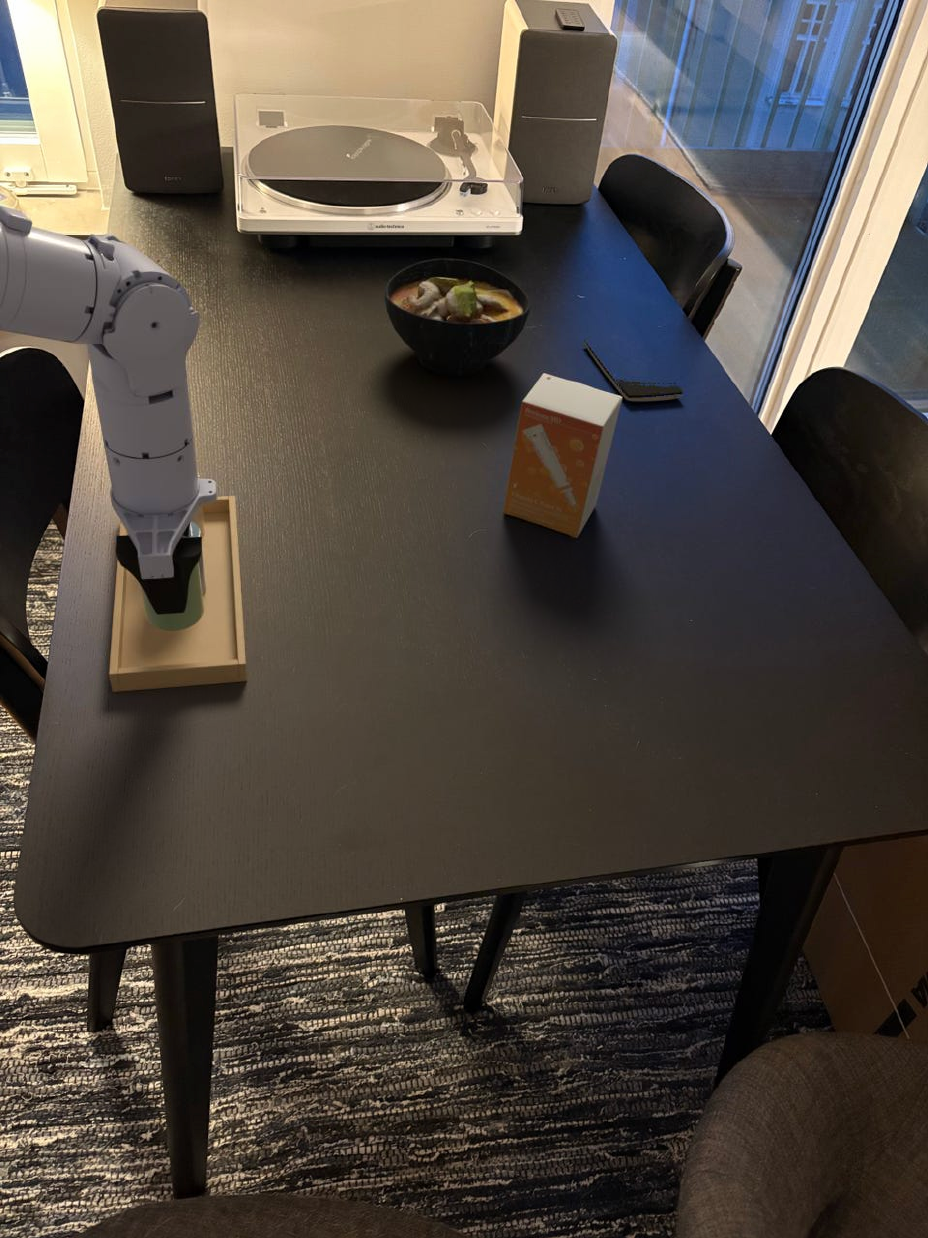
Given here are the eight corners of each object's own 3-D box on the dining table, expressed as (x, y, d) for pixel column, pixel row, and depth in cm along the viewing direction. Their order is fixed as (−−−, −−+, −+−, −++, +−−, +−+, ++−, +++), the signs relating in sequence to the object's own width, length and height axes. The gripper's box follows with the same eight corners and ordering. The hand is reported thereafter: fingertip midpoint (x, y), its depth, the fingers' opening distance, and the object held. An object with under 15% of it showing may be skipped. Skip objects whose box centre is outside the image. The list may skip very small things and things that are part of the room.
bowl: (509, 328, 126) (519, 253, 119) (531, 397, 114) (544, 318, 107) (378, 323, 124) (381, 246, 117) (386, 393, 111) (390, 312, 105)
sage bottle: (144, 633, 73) (128, 546, 67) (145, 594, 76) (131, 508, 70) (204, 629, 74) (194, 543, 68) (203, 590, 77) (193, 505, 71)
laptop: (635, 333, 126) (685, 392, 116) (633, 341, 127) (682, 401, 117) (583, 335, 124) (629, 396, 114) (581, 344, 125) (627, 405, 115)
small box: (501, 514, 97) (519, 399, 88) (523, 482, 101) (542, 370, 92) (578, 540, 95) (604, 425, 86) (597, 506, 99) (624, 394, 90)
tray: (112, 692, 75) (108, 674, 74) (124, 517, 91) (121, 500, 89) (247, 681, 77) (245, 663, 76) (236, 512, 93) (235, 495, 91)
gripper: (213, 497, 60) (228, 652, 69) (208, 377, 70) (222, 526, 79) (92, 502, 58) (124, 660, 67) (105, 379, 68) (131, 530, 78)
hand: (170, 588), depth 73 cm, fingers closed on sage bottle, 4 cm apart
